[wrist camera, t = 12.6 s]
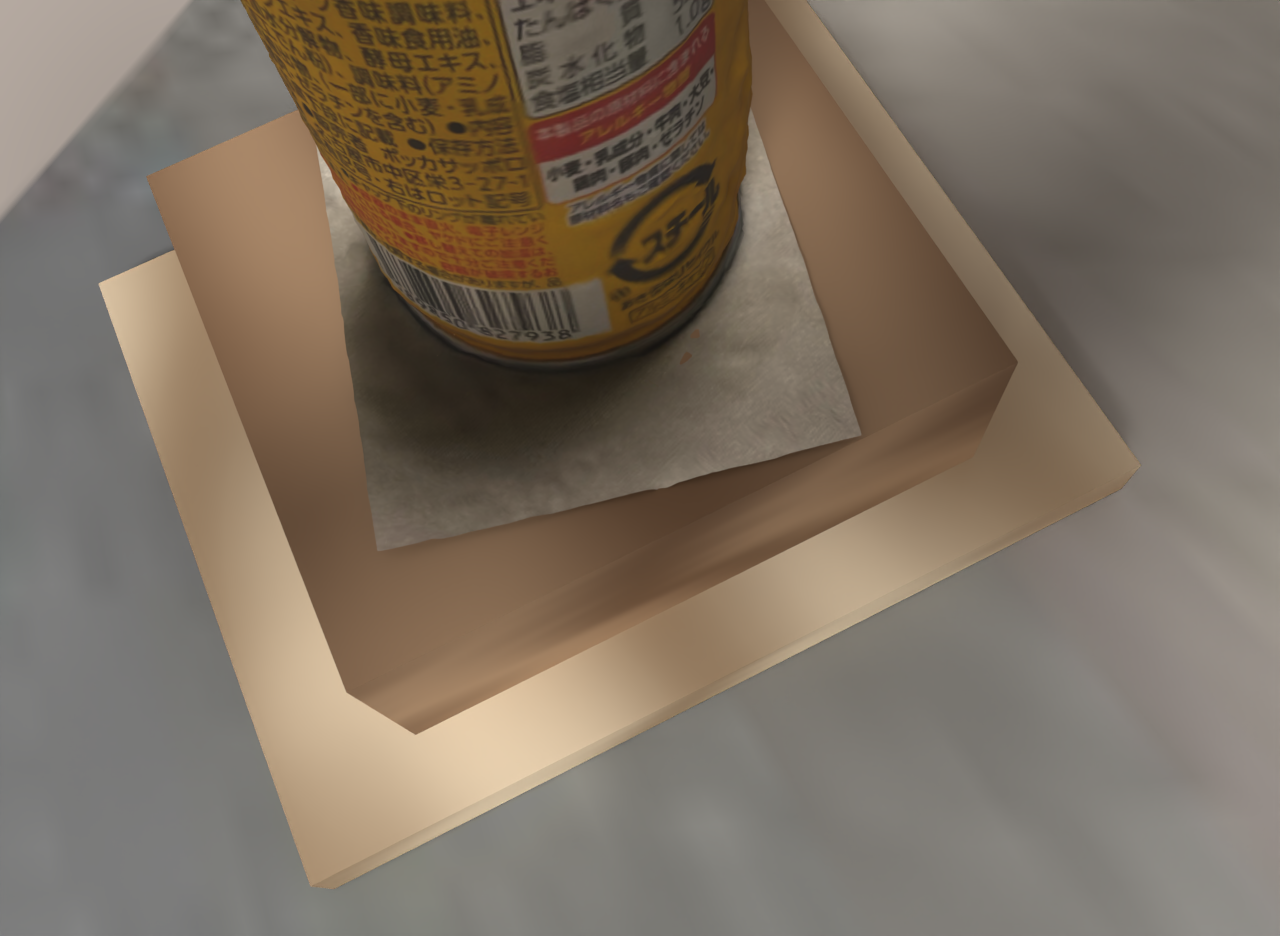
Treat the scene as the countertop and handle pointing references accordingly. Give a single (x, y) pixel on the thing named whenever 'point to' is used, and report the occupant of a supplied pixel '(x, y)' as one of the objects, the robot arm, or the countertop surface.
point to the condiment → (553, 251)
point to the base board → (659, 664)
